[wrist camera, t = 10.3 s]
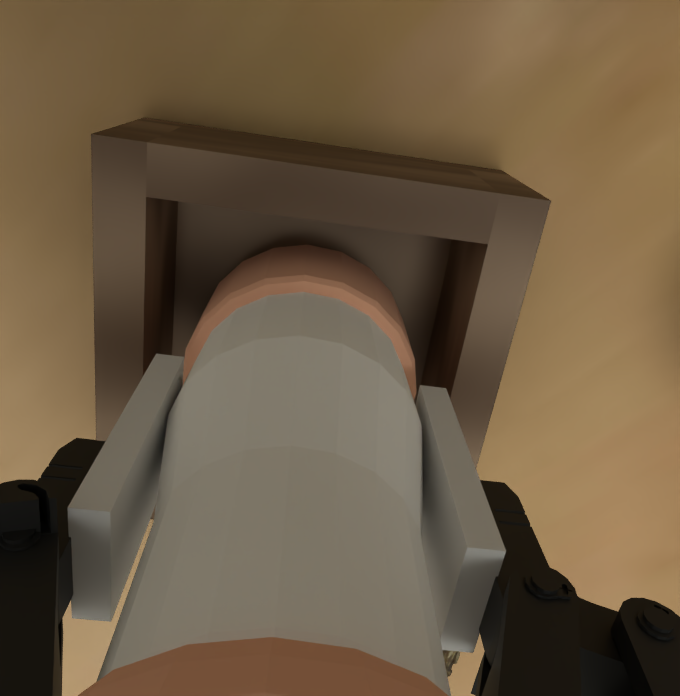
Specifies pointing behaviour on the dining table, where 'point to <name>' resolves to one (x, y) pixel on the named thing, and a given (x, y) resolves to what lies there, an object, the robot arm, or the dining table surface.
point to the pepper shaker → (287, 500)
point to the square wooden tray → (304, 229)
